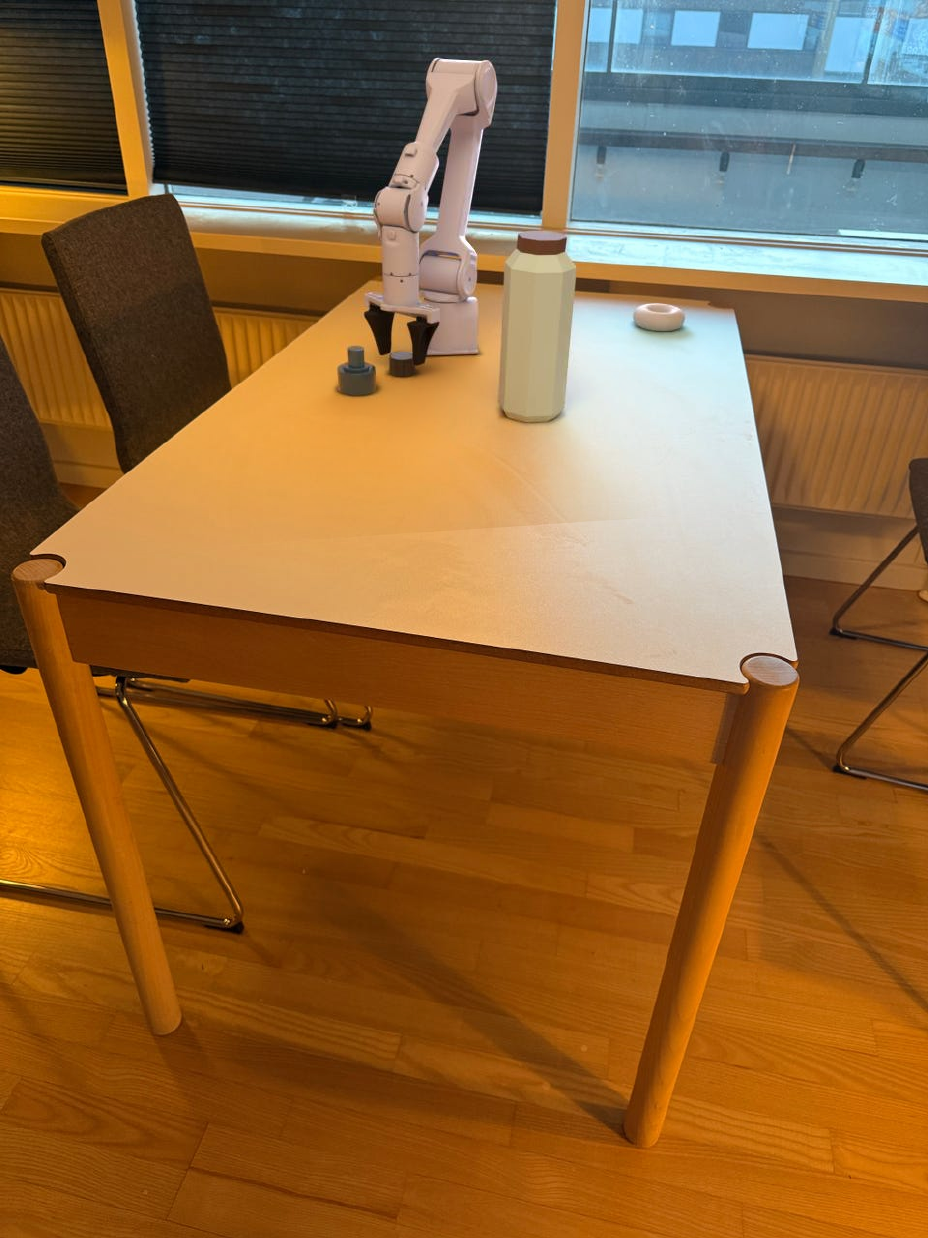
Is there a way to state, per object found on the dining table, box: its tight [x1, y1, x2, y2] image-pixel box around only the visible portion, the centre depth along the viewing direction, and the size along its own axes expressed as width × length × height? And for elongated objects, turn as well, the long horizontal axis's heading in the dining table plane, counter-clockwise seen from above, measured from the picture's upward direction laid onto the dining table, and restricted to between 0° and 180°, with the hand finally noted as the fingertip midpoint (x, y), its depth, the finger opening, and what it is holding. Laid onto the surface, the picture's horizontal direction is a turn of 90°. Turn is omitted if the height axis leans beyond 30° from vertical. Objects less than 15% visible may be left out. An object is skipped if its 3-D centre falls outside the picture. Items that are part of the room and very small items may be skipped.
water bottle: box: [497, 230, 578, 424], centre depth 127 cm, size 10×10×25 cm
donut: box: [632, 303, 686, 332], centre depth 173 cm, size 10×4×10 cm
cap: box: [388, 351, 416, 378], centre depth 147 cm, size 4×4×3 cm
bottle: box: [336, 345, 377, 397], centre depth 139 cm, size 6×6×6 cm
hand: (401, 358), depth 146 cm, fingers open, 7 cm apart
